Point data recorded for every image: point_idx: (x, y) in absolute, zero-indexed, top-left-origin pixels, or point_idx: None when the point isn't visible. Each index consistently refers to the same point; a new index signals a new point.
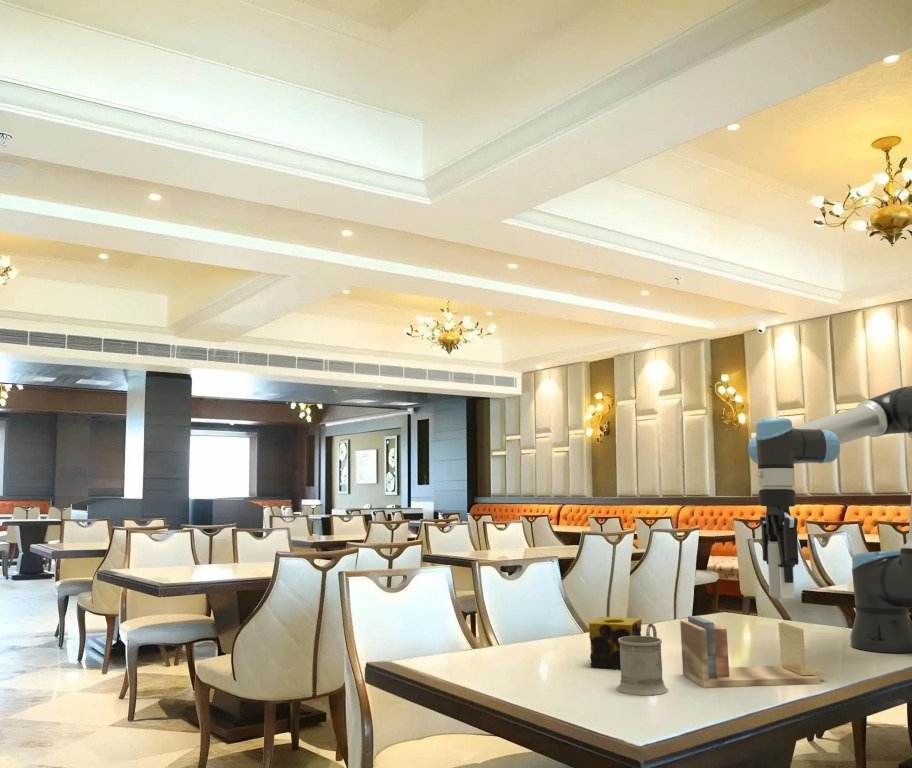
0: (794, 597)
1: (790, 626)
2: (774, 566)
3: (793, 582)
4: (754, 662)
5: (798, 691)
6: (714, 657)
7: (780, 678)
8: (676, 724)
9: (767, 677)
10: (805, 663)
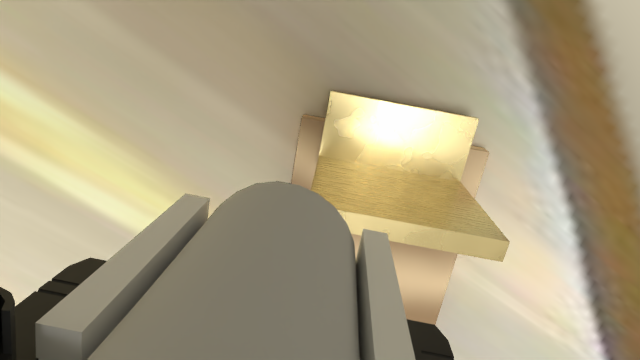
0: (387, 237)
1: (417, 241)
2: None
3: (397, 294)
4: (149, 143)
5: (528, 258)
6: None
7: (451, 263)
8: None
9: (425, 285)
10: (467, 191)
